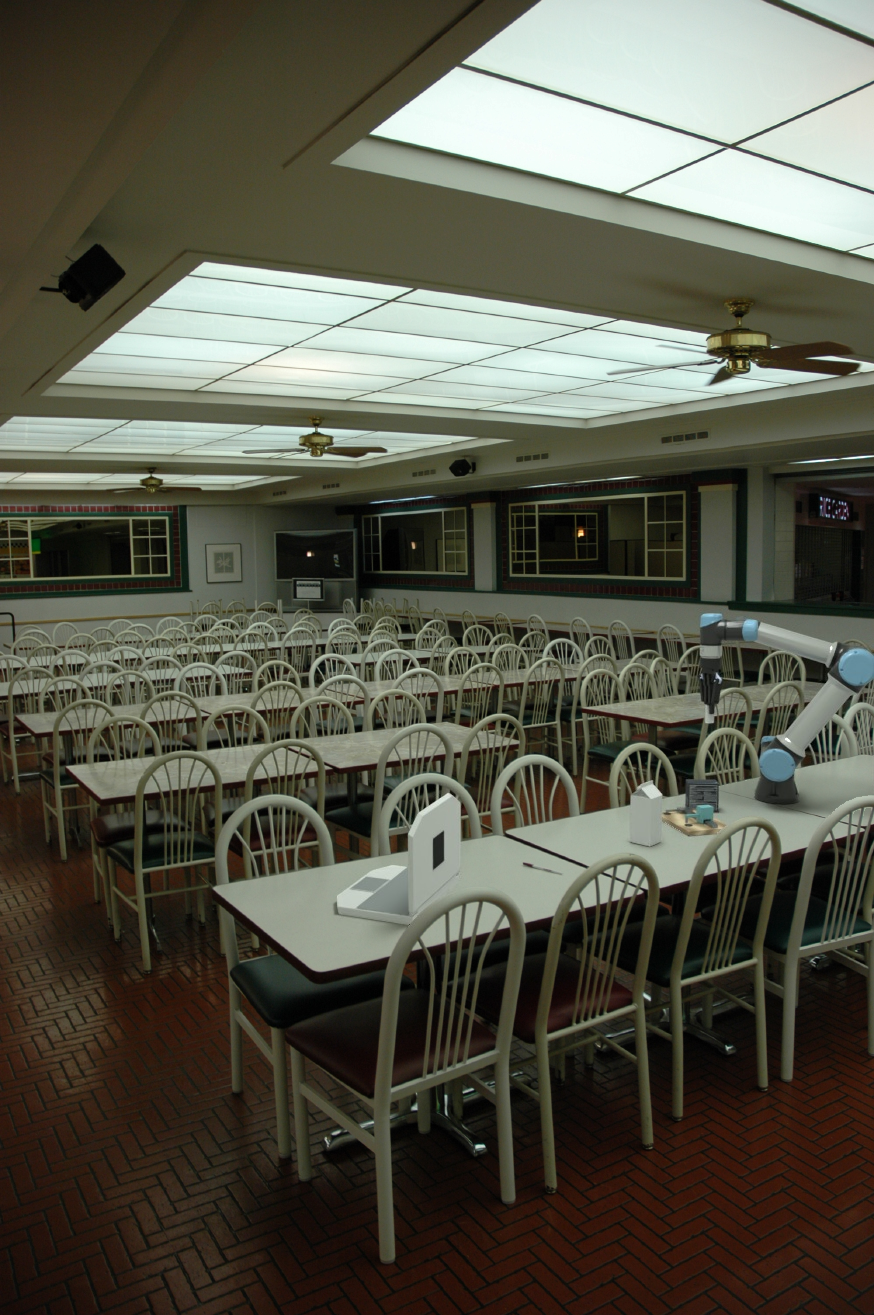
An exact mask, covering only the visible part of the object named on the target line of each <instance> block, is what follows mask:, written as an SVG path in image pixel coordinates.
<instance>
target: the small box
mask: <svg viewBox="0 0 874 1315" xmlns="http://www.w3.org/2000/svg"><path fill="white" fill-rule="evenodd" d="M719 787H720V783H719V781H717V780H716V779H696V778H695V779H694V778H692V779H690V778H688V779H685V801H684V802H685V806H684V807H690V808H692V809H693V810H697V806H698V805H710V806H712V807H714V810H713V813H714V812H718V813H719V812H720V810H719V809H720V808H719V806H720V805H719V803H720V802H719V800H720V798H719V794H720V793H719V792H720V791H719V790H720V788H719Z"/></svg>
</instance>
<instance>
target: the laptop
mask: <svg viewBox="0 0 874 1315" xmlns="http://www.w3.org/2000/svg"><path fill="white" fill-rule="evenodd" d="M461 810H462V809H461V802H460V800H459V799H457V798H456V797H455V796H454V795H452V794H451V793H449V792H447V793H446V794H445V795H443V796H441V797H440V798H438V799H436V800H435V801H434V802H432V803H431V804H430V805H428V806H426V807H425V808H424V809H422V810H421V811H419V812H417V814H416V816H415V818H414V821H413V823H412V825H411V827H410V829H409V831H408V833H407V866H404V865H403V866H402V865H396V864H395V865H394V864H390V865H388V866H383V867H379V868H376V869H371V870H370V871H368V873H366V874H365V875H363V876H362V877H361V878H359V879H358V880H356V881H355V882H354V883H352V884H351V885H350V886H348V887H347V888H345V889H344V890H343V891H342V892H340V893H339V894H337V895H336V907H337V913H338V915H342V916H349V917H354V918H361V919H367V920H375V921H379V922H387V923H394V924H400V925H405V926H410V925H409V924H410V923H411V922H412V921H413V920H414V919H415V918H416V917H417V915H418V914H419V913H420V912H421V911H422V910H423V909H424V908H426V907H427V906H428V905H429V904H431V903H432V902H434V901H435V900H437V899H438V898H441V897H442V896H443V897H444V896H445V895H447V894H448V893H449V892H450V891H451V890H452V889H453V888H454V887H455V886H456V885H457V884H458V883H459V882H460V881H461V874H460V872H461V869H462V867H461V866H462V865H461V863H462V860H461V859H462V858H461V856H462V854H461V851H462V850H461V844H462V843H461V841H462V840H461V837H462V836H461V832H462V830H461V829H462V828H461V823H462V822H461V821H462V820H461ZM443 897H442V898H443ZM442 898H441V899H442Z"/></svg>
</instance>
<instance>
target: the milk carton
mask: <svg viewBox="0 0 874 1315" xmlns="http://www.w3.org/2000/svg"><path fill="white" fill-rule="evenodd" d="M629 806H630V811H629V843H633V844H637V845H643V846H645V847H652V846H654V845H657V844H660V843H661V842H662V833H663V832H662V831H663V830H662V827H663V821H662V812H663V793H661V791H660V790H659V789H658V788H657V786H655V785H654V780H649V781H646V782H643V783H641V784H640V785H638V786H636V791H634V792H633V793H632V794H630V805H629Z"/></svg>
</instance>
